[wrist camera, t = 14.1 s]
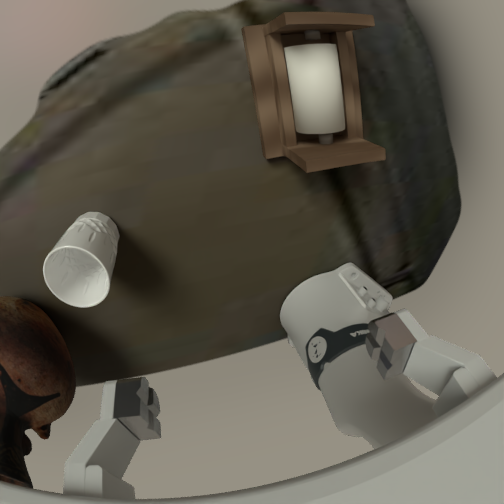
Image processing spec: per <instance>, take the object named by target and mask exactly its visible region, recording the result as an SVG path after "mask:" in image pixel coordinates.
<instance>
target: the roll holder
mask: <svg viewBox="0 0 504 504" xmlns="http://www.w3.org/2000/svg"><path fill="white" fill-rule="evenodd" d="M373 26H375V24H374V18H373V15H365V14H353V13H336V12H285V13H283V14H281V15H280V16H278V17H277V18H275V19H274V20H272V21H271V22H269V23H268V24H265V25H255V26H246V27H243V28H242V29H241V30H242V35H243V40H244V46H245V51H246V57H247V62H248V68H249V73H250V79H251V85H252V90H253V96H254V102H255V108H256V114H257V120H258V126H259V132H260V138H261V144H262V150H263V156H264V157H265V158H266V159H270V158H275V157H280V156H286V157H288V158H289V159H290V160H291V161H293V162H294V163H295V164H296V165H298V166H299V167H300V168H302V169H303V170H304V171H305V172H307V173H309V172H315V171H320V170H325V169H331V168H336V167H342V166H348V165H354V164H360V163H366V162H373V161H379V160H385V148H383V147H380V146H378V145H376V144H373V143H371V142H369V141H366V140H364V139H363V128H362V113H361V101H360V90H359V80H358V71H357V63H356V55H355V48H354V41H353V35H352V30H357V29H362V28H367V27H373ZM303 44H336V47H337V54H338V61H339V69H340V77H341V86H342V95H343V106H344V117H345V129H344V130H343V131H339V132H335V133H327V134H304V133H299V132H297V131H296V128H295V120H294V112H293V105H292V97H291V90H290V83H289V77H288V70H287V64H286V57H285V51H284V48H285V47H289V46H296V45H303Z"/></svg>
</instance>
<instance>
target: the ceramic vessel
mask: <svg viewBox="0 0 504 504" xmlns="http://www.w3.org/2000/svg"><path fill="white" fill-rule="evenodd" d="M75 389H76V379H75V372H74V366H73V362H72V359H71V356H70V353H69V351H68V348H67V346H66V344H65V341H64V340H63V338H62V336H61V334H60V332H59V331H58V329H57V328H56V326H55V325H54V323H53V322H52V320H51V319H50V318H49V317H48V316H47V315H46V313H45V312H44V311H43V310H41V309H40V308H39V307H37V306H36V305H34V304H33V303H31V302H29V301H27V300H25V299H22V298H17V297H6V296H3V297H0V481H4V482H7V483H11V484H15V485H19V486H23V487H27V488H32V489H33V485H32V482H31V479H30V476H29V474H28V471H27V468H26V464H25V461H24V456H25V455H28V454H29V453H30V452H31V450H32V444H31V441H30V439H29V438H28V437H27V435H25V430H27V429H33V430H34V431H35V432H36V433H37V434H38V435H39V436H40V437H41V438H43V439H48V438H49V436H50V426H51V423H52V422H53V421H55V420H57V419H59V418H60V417H61V416H63V415H64V414H65V413H66V411H67V410H68V408H69V406H70V404H71V403H72V401H73V398H74V394H75Z"/></svg>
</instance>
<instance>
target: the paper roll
mask: <svg viewBox="0 0 504 504" xmlns="http://www.w3.org/2000/svg"><path fill="white" fill-rule="evenodd" d="M284 51H285V57H286V64H287V70H288V77H289V83H290V90H291V97H292V105H293V112H294V120H295V128H296V131H297V132H299V133H304V134H327V133H335V132H339V131H343V130H344V129H345V117H344V106H343V95H342V86H341V77H340V69H339V61H338V54H337V47H336V44H303V45H296V46H289V47H285V48H284Z"/></svg>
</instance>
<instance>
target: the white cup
mask: <svg viewBox="0 0 504 504" xmlns="http://www.w3.org/2000/svg"><path fill="white" fill-rule="evenodd" d="M118 242H119V232H118V229H117V226H116V224H115V223H114V222H113V221H112V220H111V218H110V217H108V216H106V215H104V214H102V213H100V212H87V213H85V214H83V215H81V216H79V217H78V218H77V220H76V221H75V222H74V224H73V225H71V226H70V227H69V228H68V230H67V231H66V232H65V233H64V234H63V236H62V237H61V238H60V240H59V241H58V242H57V244H56V245H55V246H54V248H53V249H52V250H51V252H50V253H49V254H48V256H47V257H46V259H45V262H44V266H43V274H44V279H45V281H46V284H47V286H48V287H49V289H50V290H51V292H52V293H53V294H54V295H55V296H56V297H57V298H59V299H60V300H61V301H63V302H65V303H67V304H69V305H72V306H76V307H92V306H95V305H97V304H99V303H100V302H102V301H103V300H104V299H105V297H106V296H107V294H108V292H109V288H110V283H111V278H112V274H113V269H114V265H115V260H116V255H117V247H118Z"/></svg>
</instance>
